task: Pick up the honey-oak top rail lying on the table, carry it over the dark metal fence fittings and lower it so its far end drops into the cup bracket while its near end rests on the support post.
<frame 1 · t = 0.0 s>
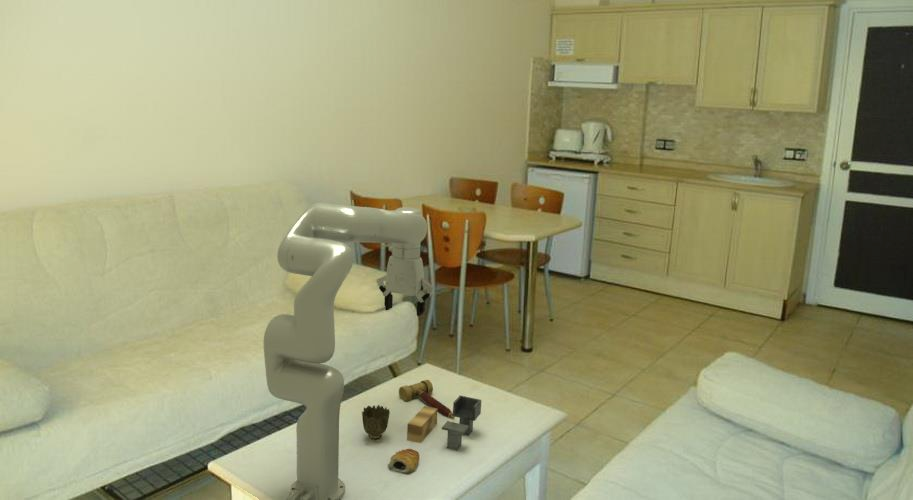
hand: (404, 311, 200), 31 cm above the table, tool pointing down, fingers open, 9 cm apart
cup: (375, 438, 193), on the table
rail: (422, 432, 198), on the table
pastry: (404, 466, 180), on the table
support post: (454, 436, 190), on the table
gavel: (431, 407, 214), on the table
cup bracket: (466, 416, 197), on the table
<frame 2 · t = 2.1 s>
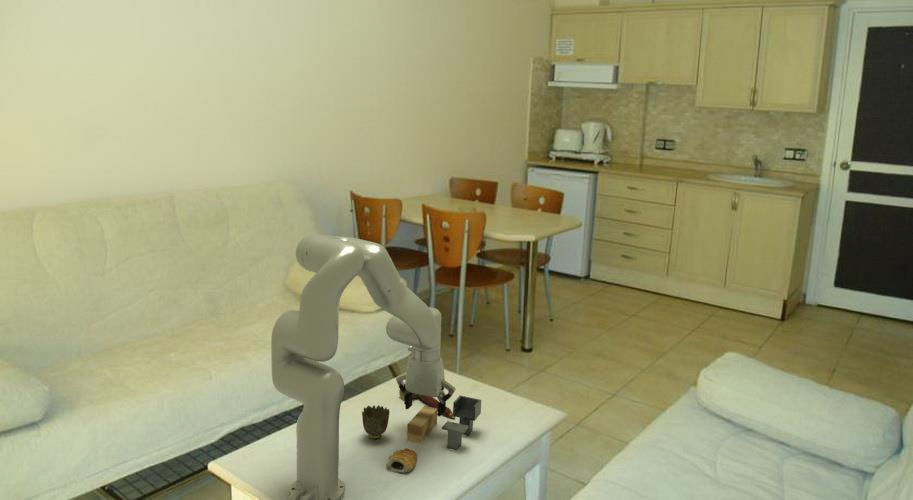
hand: (424, 410, 197), 6 cm above the table, tool pointing down, fingers open, 9 cm apart
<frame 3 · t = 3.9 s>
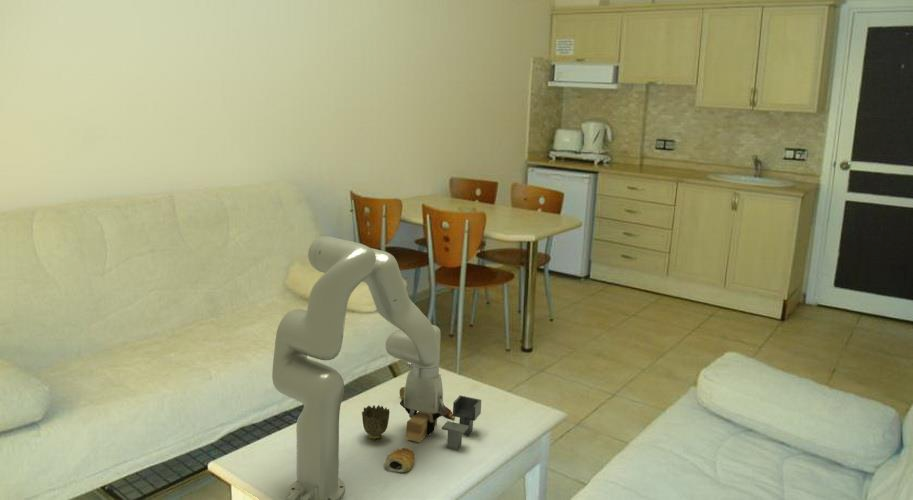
hand: (422, 430, 198), 0 cm above the table, tool pointing down, fingers closed on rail, 4 cm apart
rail: (421, 432, 197), on the table, touching gripper
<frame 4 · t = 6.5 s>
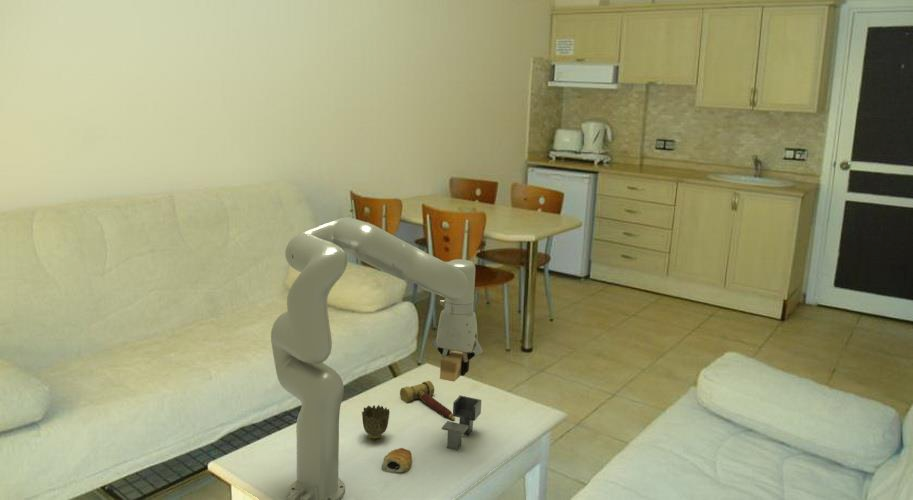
hand: (455, 371, 190), 20 cm above the table, tool pointing down, fingers closed on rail, 4 cm apart
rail: (454, 373, 190), point 19 cm above the table, touching gripper
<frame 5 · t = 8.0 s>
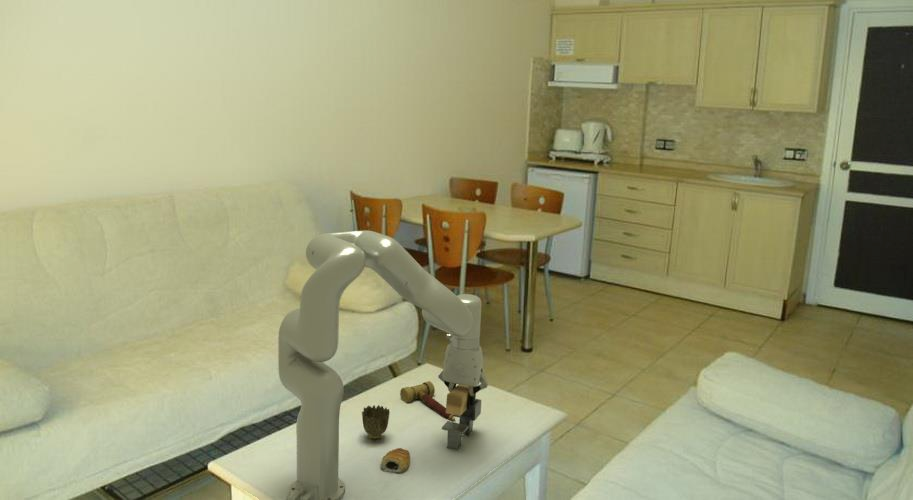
hand: (461, 404, 192), 10 cm above the table, tool pointing down, fingers closed on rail, 4 cm apart
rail: (460, 406, 191), point 10 cm above the table, touching gripper
when the fingers open (7 cm above the table, at t = 9.3 s): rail drops 1 cm, resting on cup bracket, support post.
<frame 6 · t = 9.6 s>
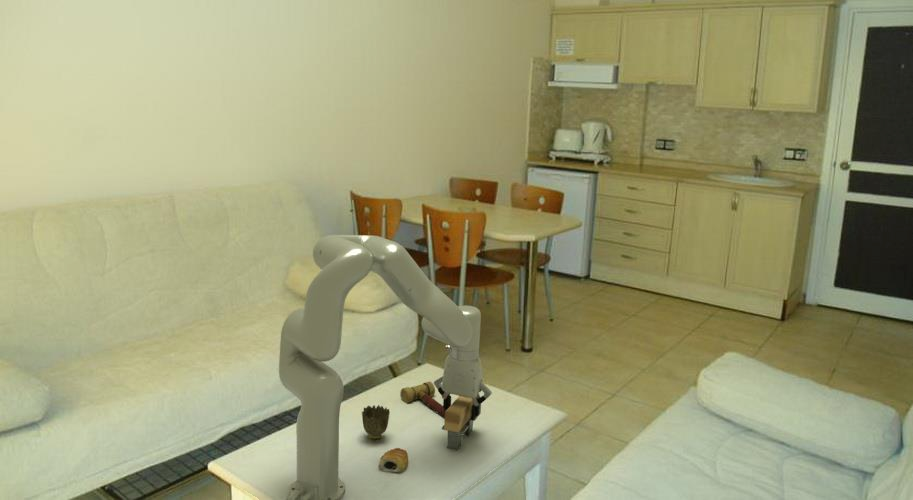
hand: (460, 414, 192), 8 cm above the table, tool pointing down, fingers open, 7 cm apart
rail: (459, 421, 192), point 6 cm above the table, touching cup bracket, support post
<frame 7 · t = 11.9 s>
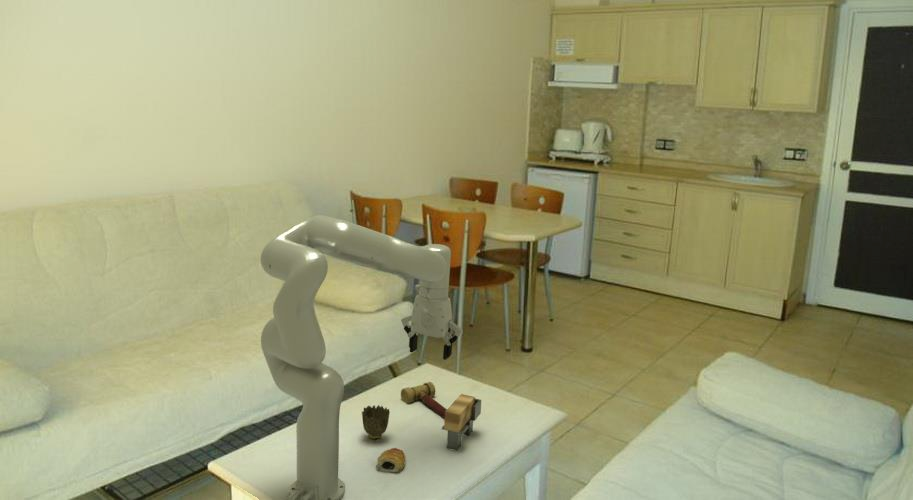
hand: (429, 354, 188), 24 cm above the table, tool pointing down, fingers open, 9 cm apart
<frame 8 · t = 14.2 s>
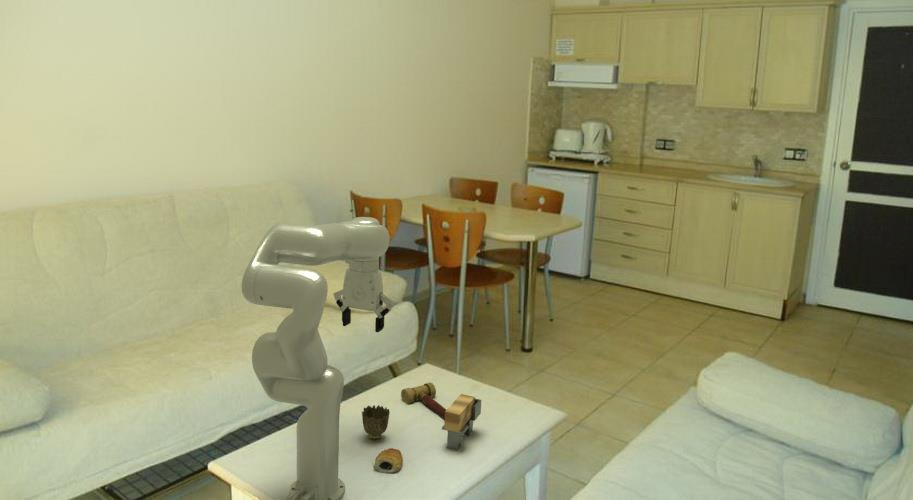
hand: (362, 327, 188), 30 cm above the table, tool pointing down, fingers open, 9 cm apart
at the end: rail 0.7 cm off-centre on the cup bracket, point 6.0 cm above the cup bracket's base; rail tilted 0°; the gripper is holding nothing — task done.
